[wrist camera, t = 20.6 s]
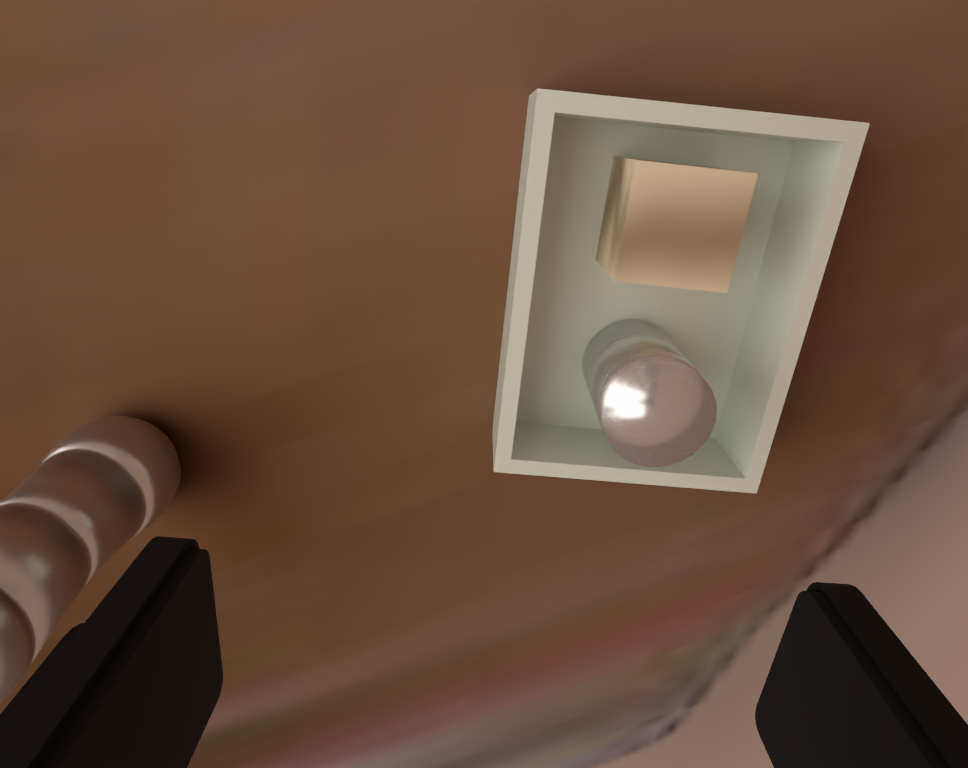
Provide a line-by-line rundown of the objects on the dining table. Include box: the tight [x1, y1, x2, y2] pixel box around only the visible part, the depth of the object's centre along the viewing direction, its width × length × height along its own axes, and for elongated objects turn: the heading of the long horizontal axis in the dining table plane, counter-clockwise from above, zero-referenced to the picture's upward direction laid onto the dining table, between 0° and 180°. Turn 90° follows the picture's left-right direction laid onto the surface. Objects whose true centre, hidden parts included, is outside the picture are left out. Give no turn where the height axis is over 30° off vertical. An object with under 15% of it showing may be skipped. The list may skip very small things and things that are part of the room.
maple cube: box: [596, 156, 758, 293], centre depth 28 cm, size 5×5×5 cm
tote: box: [492, 88, 870, 493], centre depth 30 cm, size 18×14×5 cm
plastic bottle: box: [0, 415, 181, 702], centre depth 27 cm, size 6×7×20 cm
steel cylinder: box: [582, 319, 717, 467], centre depth 30 cm, size 5×5×7 cm
